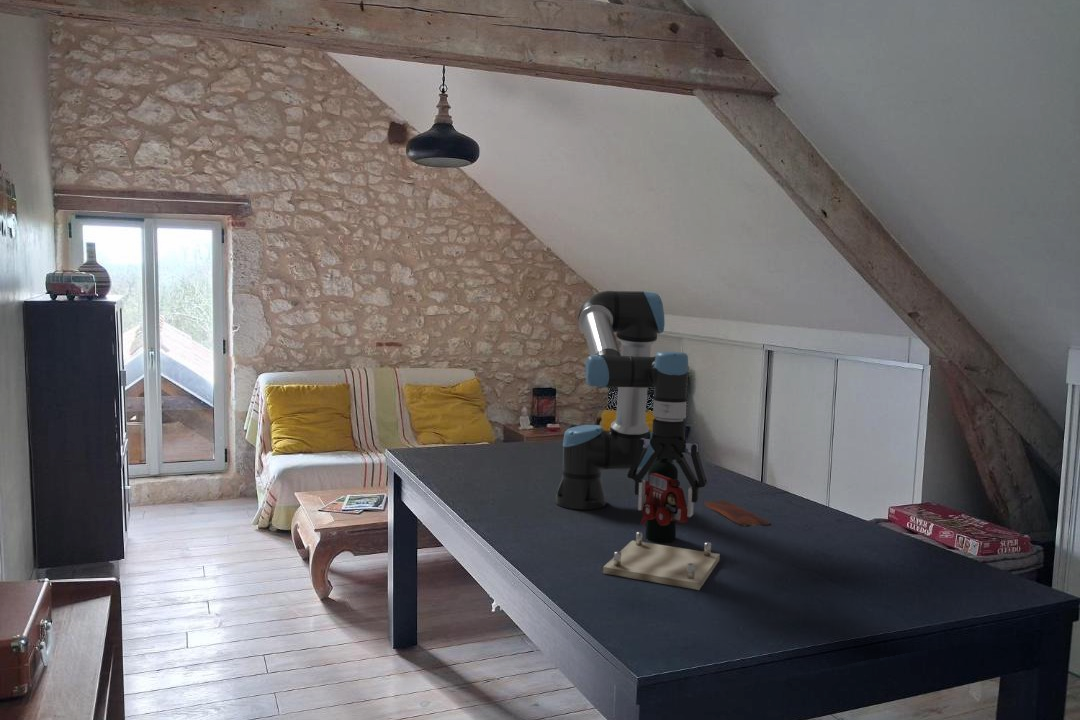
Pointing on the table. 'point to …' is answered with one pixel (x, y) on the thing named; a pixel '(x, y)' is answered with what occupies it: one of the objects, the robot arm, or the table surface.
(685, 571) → the standoff plate
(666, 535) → the wine bottle
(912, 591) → the table surface
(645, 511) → the toy fire truck
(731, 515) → the wooden tablet
